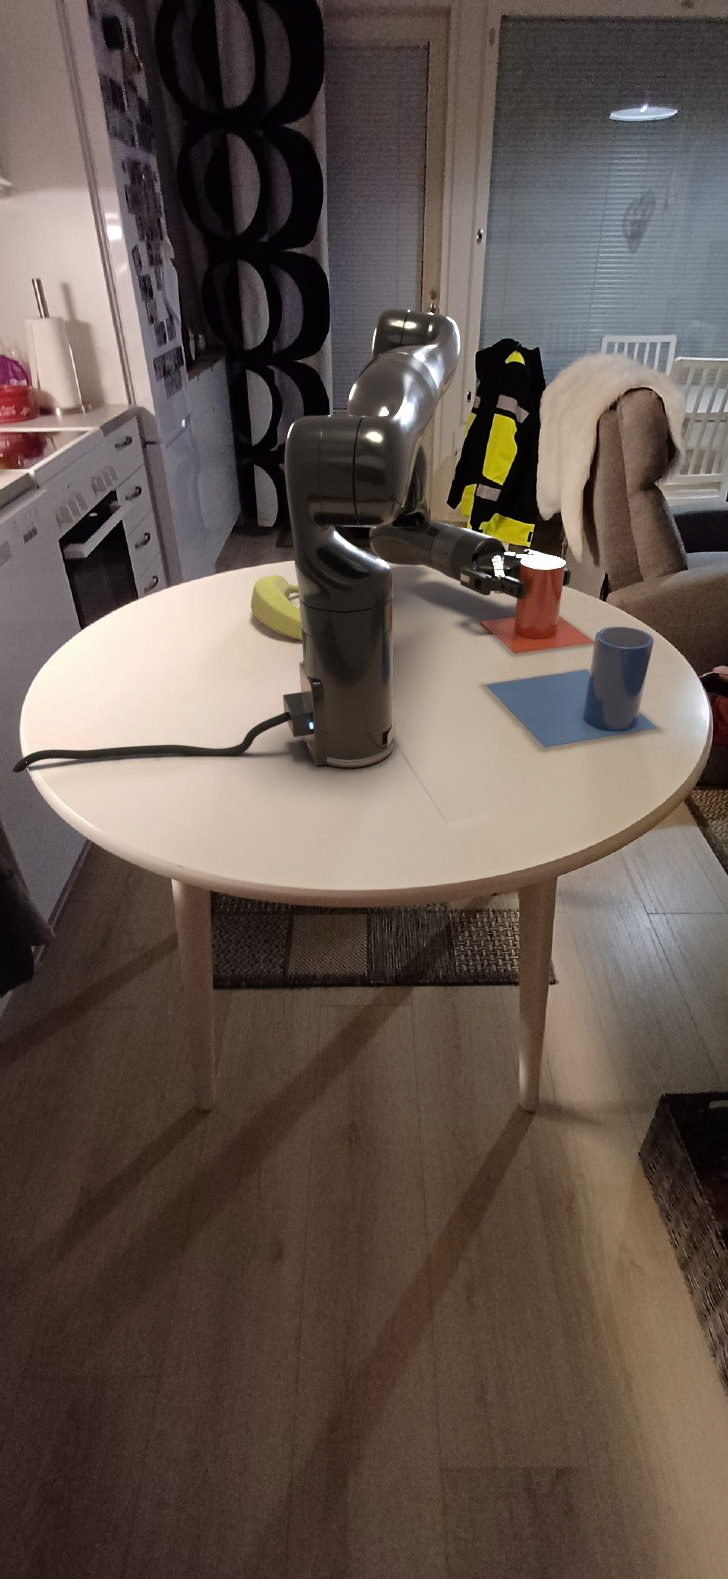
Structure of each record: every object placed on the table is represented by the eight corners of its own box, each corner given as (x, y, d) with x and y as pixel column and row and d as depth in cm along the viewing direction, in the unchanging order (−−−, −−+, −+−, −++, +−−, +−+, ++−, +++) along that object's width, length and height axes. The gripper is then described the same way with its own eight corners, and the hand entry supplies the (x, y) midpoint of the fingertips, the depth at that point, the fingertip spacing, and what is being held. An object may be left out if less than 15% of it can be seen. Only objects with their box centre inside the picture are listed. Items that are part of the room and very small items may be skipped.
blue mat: (544, 749, 84) (544, 747, 84) (485, 686, 97) (485, 684, 97) (657, 730, 87) (657, 727, 87) (585, 671, 100) (586, 669, 100)
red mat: (514, 655, 105) (515, 653, 105) (479, 623, 114) (480, 621, 114) (594, 644, 107) (594, 642, 107) (553, 613, 117) (553, 611, 117)
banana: (233, 588, 107) (275, 561, 125) (227, 625, 110) (268, 593, 127) (327, 618, 107) (355, 586, 124) (317, 655, 109) (346, 619, 127)
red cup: (525, 641, 108) (532, 570, 102) (507, 626, 112) (513, 557, 107) (564, 636, 109) (573, 565, 103) (544, 621, 114) (552, 552, 108)
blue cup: (599, 735, 86) (614, 651, 80) (573, 710, 91) (585, 630, 85) (647, 726, 87) (665, 643, 82) (618, 703, 92) (633, 623, 87)
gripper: (431, 540, 111) (512, 568, 100) (503, 523, 118) (586, 547, 107) (430, 590, 116) (507, 623, 105) (499, 571, 122) (578, 600, 111)
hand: (547, 585), depth 106 cm, fingers open, 8 cm apart
